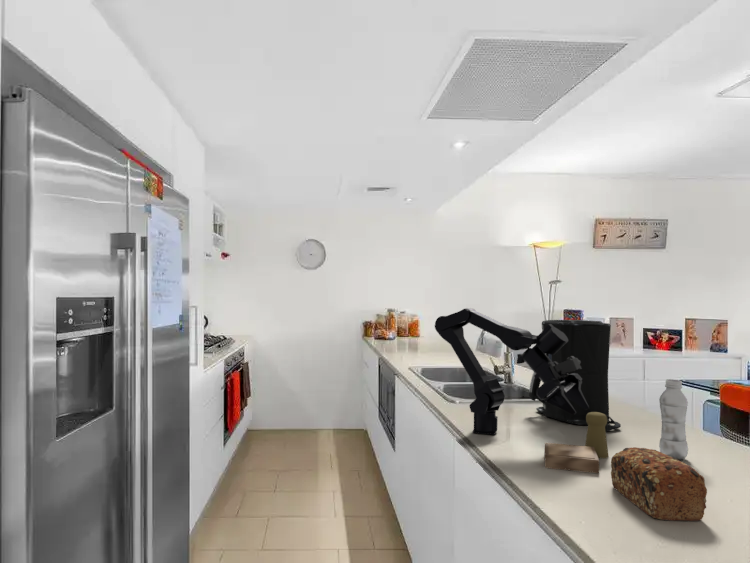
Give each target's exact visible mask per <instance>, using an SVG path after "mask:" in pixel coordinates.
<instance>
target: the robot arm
mask: <svg viewBox="0 0 750 563" xmlns="http://www.w3.org/2000/svg"><path fill="white" fill-rule="evenodd" d="M469 324H470V325H473V326H474V327H476V328H478V329H481V330H483V331H485V332H487V333H488V334H491V335H493V336H494V337H496V338H497V339H499V340H500V341H501V343H502V344H503V345H505V346H506V347H507V348H509V349H510V350H512V351H523V350H525V351H524V352H523V353H517V355H516V356H517V358H516V364H518V365H519V364H524V363H526V364H527V365H528V367H529V368H530V369H531V371H533V373H535V374H536V375H534V377H535V378H536V379H538V378H540V380H541V382H542V384H540V386H539V388H538V389H537V390H536V395H537V396H538V397H539V399H540V400H544V399H545V400H544V401H545V402H548V403H550V404H552V405H554V406H557V407H559V408H561V409H562V410H564V411H566V412H568V413H570V414H572V415H574V414H575V413H576V411H575V409H574V408H573V406H572V405H571V403H570V402H569V400H568V399H567V398H569V399H570V400H572V401H573V402H575V403H576V404H578V405H579V406H581V407H582V408H584V409H586V410H587V409H588V408H589V406H588V404H587V402H586V400H585V398H584V395H583V393H582V391H581V383H582V381H581V380H582V378H581V377H580V375H579V374H575V373H573V374H568V373H569V372H572V371H575V370H580V369H582V368H581V366H580V363H581V361H580V360H578V358H575V357H574V356H571V357H569V358H567V360H566V361H564V362H562V363H559V364H558V363H557V362H555V361H554V362H552V361H551V360H550V359H549V357H548V356H547V355H549V354H551V355H554V354H555V353H556V352H557V351H558V350H559V349H561V348H562V347H563V346H564V345H565V344H566V343H567V342H568V338H567V336H566V335H565V334H564V333H563V332H561V331H560V330H559V329H557V328H555V327H554V326H553V325H552V324H550V325H547V326H546V327H545V329H544V330H543V331H542V330H541V332H540V333H539V334H538V335H535V334H532V333H531V331H529V330H527V329H524V328H519V327H515V326H512V325H511V326H510V325H507V324H504V323H502V322H501V321H498V320H496V319H494V318H491V317H489V316H487V315H486V314H483V313H481V312H479V311H477V310H476V309H475V308H471V307H470V308H468V307H466V308H463V309H462V310H459V311H457V312H453V313H451V314H449V315H442V316H438V317H437V318H436V320H435V322H434V329H435V331H436V332H437V333H438V335H439V336H440V337H441V338H442V340H444V341H445V342H447V343H448V344H449V346H451V348H452V350H453V351H454V353H455V355H456V357H457V358H458V359H459V362H460V364H461V365H462V367H463V369H464V370H465V372H466V373H467V375H468V377H469V379H470V380H471V382H472V384H473V393H474V396H475V398H474V400H473V401H472V402H470V404H469V409H470V412H471V413H473V429H472V433H473V434H480V435H491V436H494V435H495V434H496V433H497V431H498V420H499V419H498V417H499V416H497V414H496V412H497V411H499V409H500V408H501V405H502V404H504V401H505V393H504V391H505V389H504V388H503V387H502V386H501V384H500V382H499V380H498V378H493V379H492V378H490V377H489V376H488V375H487V373H486V372H485V370H484V369H483V367H482V365H481V363H480V362H479V360H478V358H477V357H476V355H475V353H474V352H473V350H472V348H471V347H470V344H468V342H467V340H466V339H465V335H464V334H465V333H464V328H463V327H465V326H467V325H469ZM533 345H534V346H533ZM531 347H532V348H531ZM546 354H547V355H546ZM564 393H565V394H564ZM546 396H547V398H546Z"/></svg>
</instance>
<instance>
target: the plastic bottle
mask: <svg viewBox="0 0 750 563" xmlns="http://www.w3.org/2000/svg"><path fill="white" fill-rule="evenodd" d="M682 384H683V382H682V380H681V379H679V380H678V379H671V378H670V379H665V384H664V387H665V388H666V389H665V390H664V391H663V392H662V393H661V394H660V395H659V396H660V397H659V398H658V399H659V409H660V414H661V415H660V416H661V430H660V432H661V433H660V438H659V445H658V447H659V452H661V453H663V454H666V455H668V456H671V457H673V458H675V459H678V460H683V459H686V458H687V457H688V454H689V446H688V441H687V434H686V433H687V432H686V421H687V420H686V419H687V411H688V406H689V405H688V404H689V402H688V399H687V396H685V393H683V391H682V390H681V389H682V388H683V386H682Z"/></svg>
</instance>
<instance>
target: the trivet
mask: <svg viewBox="0 0 750 563" xmlns="http://www.w3.org/2000/svg"><path fill="white" fill-rule="evenodd" d="M543 454H544V466H545V469H556V470H565V471H572V472H573V471H574V472H583V473H594V474H599V473H600V460H599V459H600V458H598V456H597V454H596V451H595V449H594V447H589V446H585V445H577V444H568V443H567V444H566V443H555V442H544V452H543Z"/></svg>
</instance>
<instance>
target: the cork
mask: <svg viewBox="0 0 750 563" xmlns="http://www.w3.org/2000/svg"><path fill="white" fill-rule="evenodd" d="M586 422H587V424H588V425H587V431H586V436H585V437H586V438H585V445H584V446H589V447H594V449H595V451H596V454H597V456H598V459H607V458H609V456H610V454H609V448H608V441H607V432H605V426H606V424H607V417H606V415H605V414H603V413H599V412H590V413H588V414H587V415H586Z"/></svg>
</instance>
